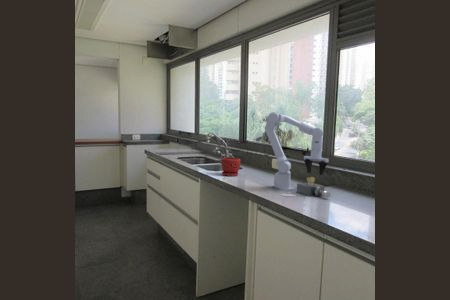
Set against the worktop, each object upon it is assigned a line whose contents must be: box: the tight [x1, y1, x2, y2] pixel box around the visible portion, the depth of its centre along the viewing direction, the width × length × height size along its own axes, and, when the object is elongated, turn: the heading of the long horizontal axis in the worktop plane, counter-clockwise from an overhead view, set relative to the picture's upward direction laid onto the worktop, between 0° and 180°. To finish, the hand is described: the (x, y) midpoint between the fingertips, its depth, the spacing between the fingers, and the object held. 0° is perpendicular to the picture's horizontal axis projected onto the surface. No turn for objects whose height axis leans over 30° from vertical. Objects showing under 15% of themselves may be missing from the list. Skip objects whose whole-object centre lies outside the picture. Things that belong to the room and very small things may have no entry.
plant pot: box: [221, 157, 241, 177], centre depth 222 cm, size 13×13×12 cm
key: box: [306, 176, 316, 186], centre depth 170 cm, size 3×3×7 cm
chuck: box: [296, 182, 331, 198], centre depth 167 cm, size 18×10×5 cm, turn 26°
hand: (315, 173), depth 177 cm, fingers open, 7 cm apart
